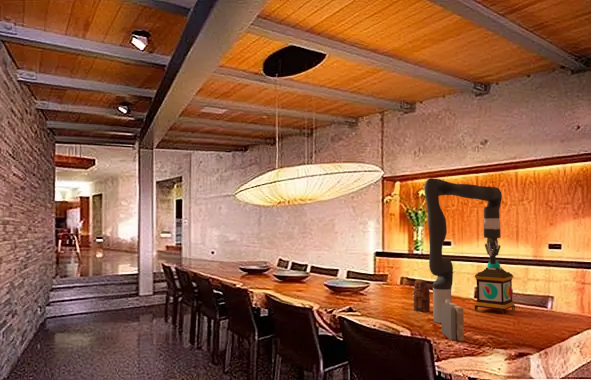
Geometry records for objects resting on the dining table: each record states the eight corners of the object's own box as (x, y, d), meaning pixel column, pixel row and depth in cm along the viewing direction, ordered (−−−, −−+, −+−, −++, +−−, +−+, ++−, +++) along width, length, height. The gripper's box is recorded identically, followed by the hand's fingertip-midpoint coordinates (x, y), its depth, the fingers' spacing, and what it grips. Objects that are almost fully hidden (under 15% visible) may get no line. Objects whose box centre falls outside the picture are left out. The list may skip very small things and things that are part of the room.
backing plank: (440, 331, 226) (439, 299, 227) (450, 331, 226) (449, 299, 226) (451, 340, 209) (450, 305, 210) (462, 340, 209) (461, 305, 210)
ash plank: (447, 332, 222) (447, 302, 223) (452, 332, 222) (451, 302, 223) (459, 340, 206) (458, 308, 207) (463, 340, 206) (463, 308, 207)
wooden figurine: (409, 309, 281) (409, 278, 282) (417, 308, 284) (416, 278, 286) (425, 312, 271) (424, 281, 272) (432, 311, 275) (432, 280, 276)
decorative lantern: (518, 310, 277) (516, 259, 279) (507, 315, 263) (505, 261, 265) (483, 306, 291) (482, 257, 293) (471, 311, 276) (470, 259, 278)
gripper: (478, 227, 235) (479, 262, 234) (489, 228, 221) (490, 265, 220) (494, 227, 235) (494, 262, 234) (505, 228, 221) (506, 265, 220)
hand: (492, 264), depth 227 cm, fingers closed
